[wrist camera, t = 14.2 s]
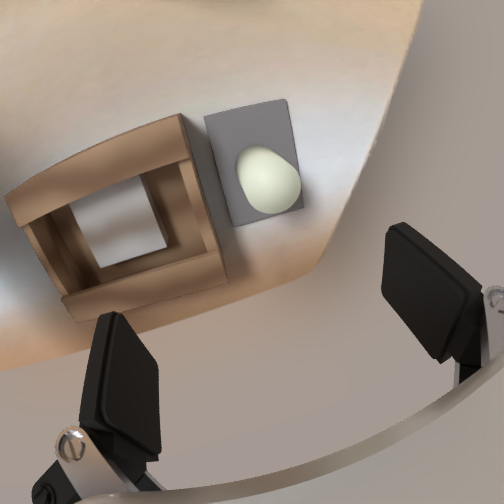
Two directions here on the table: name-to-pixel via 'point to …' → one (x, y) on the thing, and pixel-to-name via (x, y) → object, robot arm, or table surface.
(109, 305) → the walnut box
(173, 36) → the table surface
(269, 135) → the rubber mat
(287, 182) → the sage cylinder
